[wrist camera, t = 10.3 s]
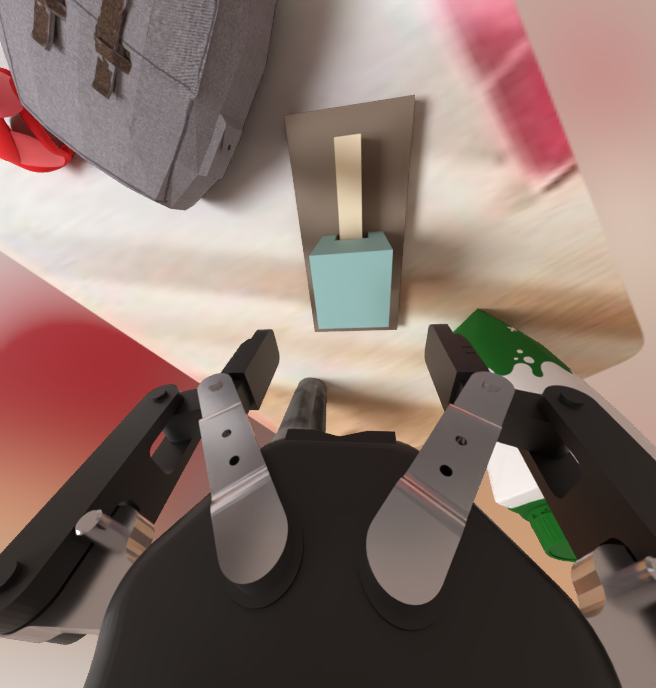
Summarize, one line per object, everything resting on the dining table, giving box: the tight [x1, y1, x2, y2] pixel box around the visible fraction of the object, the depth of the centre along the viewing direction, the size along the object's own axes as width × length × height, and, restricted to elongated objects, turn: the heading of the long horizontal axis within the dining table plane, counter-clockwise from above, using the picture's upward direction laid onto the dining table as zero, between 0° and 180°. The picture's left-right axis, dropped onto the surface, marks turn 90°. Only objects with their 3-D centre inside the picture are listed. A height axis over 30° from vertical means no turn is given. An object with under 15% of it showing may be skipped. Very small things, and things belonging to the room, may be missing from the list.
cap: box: [0, 68, 74, 173], centre depth 20 cm, size 8×6×6 cm
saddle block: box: [309, 231, 393, 329], centre depth 21 cm, size 6×6×8 cm
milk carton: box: [453, 309, 656, 562], centre depth 21 cm, size 9×9×20 cm
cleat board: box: [284, 95, 415, 332], centre depth 23 cm, size 20×10×3 cm, turn 5°
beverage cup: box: [271, 378, 327, 442], centre depth 29 cm, size 7×7×20 cm
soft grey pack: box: [0, 0, 276, 210], centre depth 15 cm, size 15×8×20 cm
